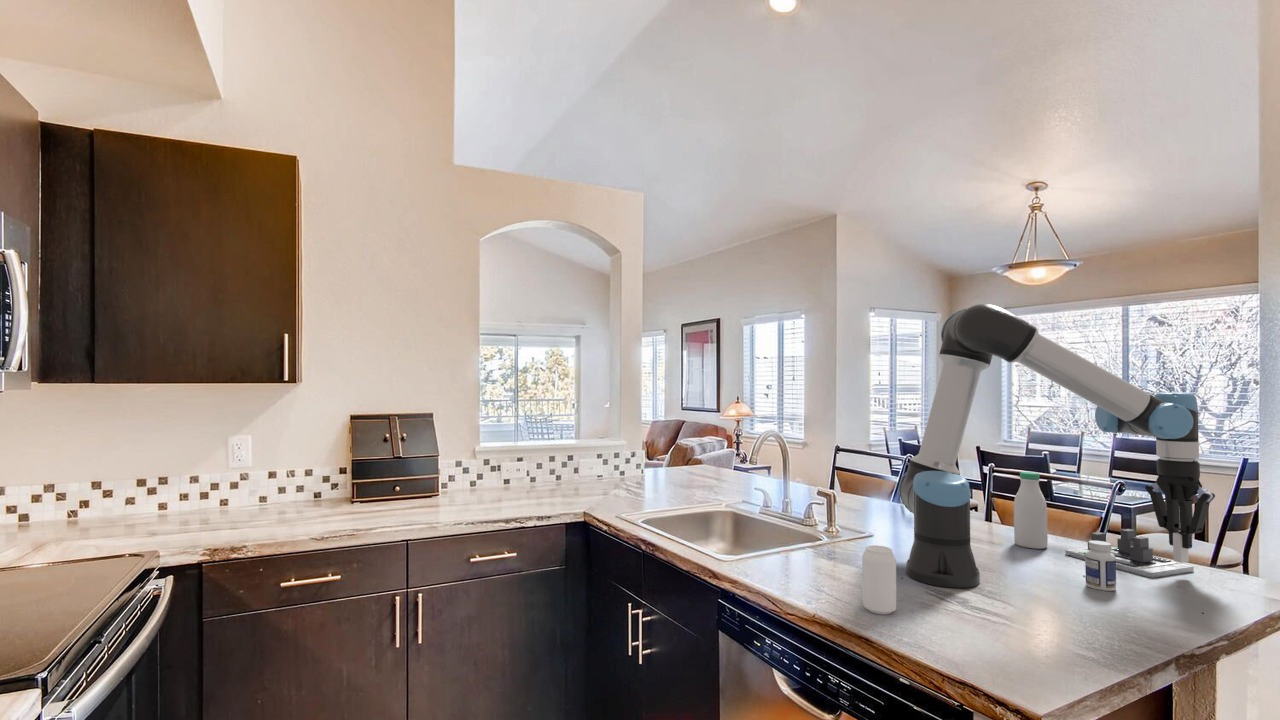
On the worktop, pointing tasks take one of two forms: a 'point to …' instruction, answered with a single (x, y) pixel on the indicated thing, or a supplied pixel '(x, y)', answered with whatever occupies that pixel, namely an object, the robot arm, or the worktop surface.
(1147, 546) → the handle mid
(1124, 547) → the handle right
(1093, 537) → the handle left
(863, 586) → the beverage can
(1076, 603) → the worktop surface
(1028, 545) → the milk bottle
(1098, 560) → the pill bottle
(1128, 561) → the panel
